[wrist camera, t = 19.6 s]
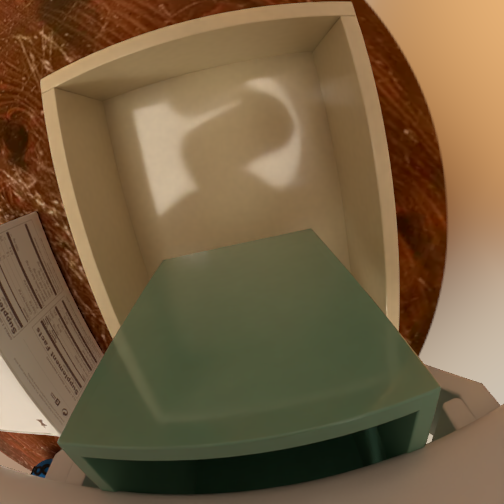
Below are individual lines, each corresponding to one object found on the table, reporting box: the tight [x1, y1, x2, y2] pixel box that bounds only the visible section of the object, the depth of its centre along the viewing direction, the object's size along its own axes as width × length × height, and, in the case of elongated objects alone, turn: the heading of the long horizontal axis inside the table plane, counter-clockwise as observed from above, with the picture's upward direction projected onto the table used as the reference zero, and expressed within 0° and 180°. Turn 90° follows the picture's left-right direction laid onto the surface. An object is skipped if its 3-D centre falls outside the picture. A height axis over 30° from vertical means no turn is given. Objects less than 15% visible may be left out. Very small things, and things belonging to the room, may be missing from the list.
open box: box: [40, 2, 399, 338], centre depth 16 cm, size 19×15×7 cm
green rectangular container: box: [57, 228, 441, 494], centre depth 10 cm, size 12×7×12 cm
